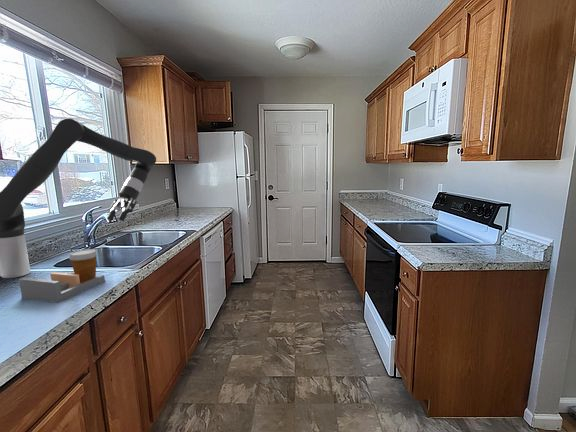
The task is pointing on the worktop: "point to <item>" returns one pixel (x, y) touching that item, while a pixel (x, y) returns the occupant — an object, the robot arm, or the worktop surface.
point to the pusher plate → (65, 280)
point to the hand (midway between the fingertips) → (114, 220)
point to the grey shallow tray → (53, 289)
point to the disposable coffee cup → (84, 264)
